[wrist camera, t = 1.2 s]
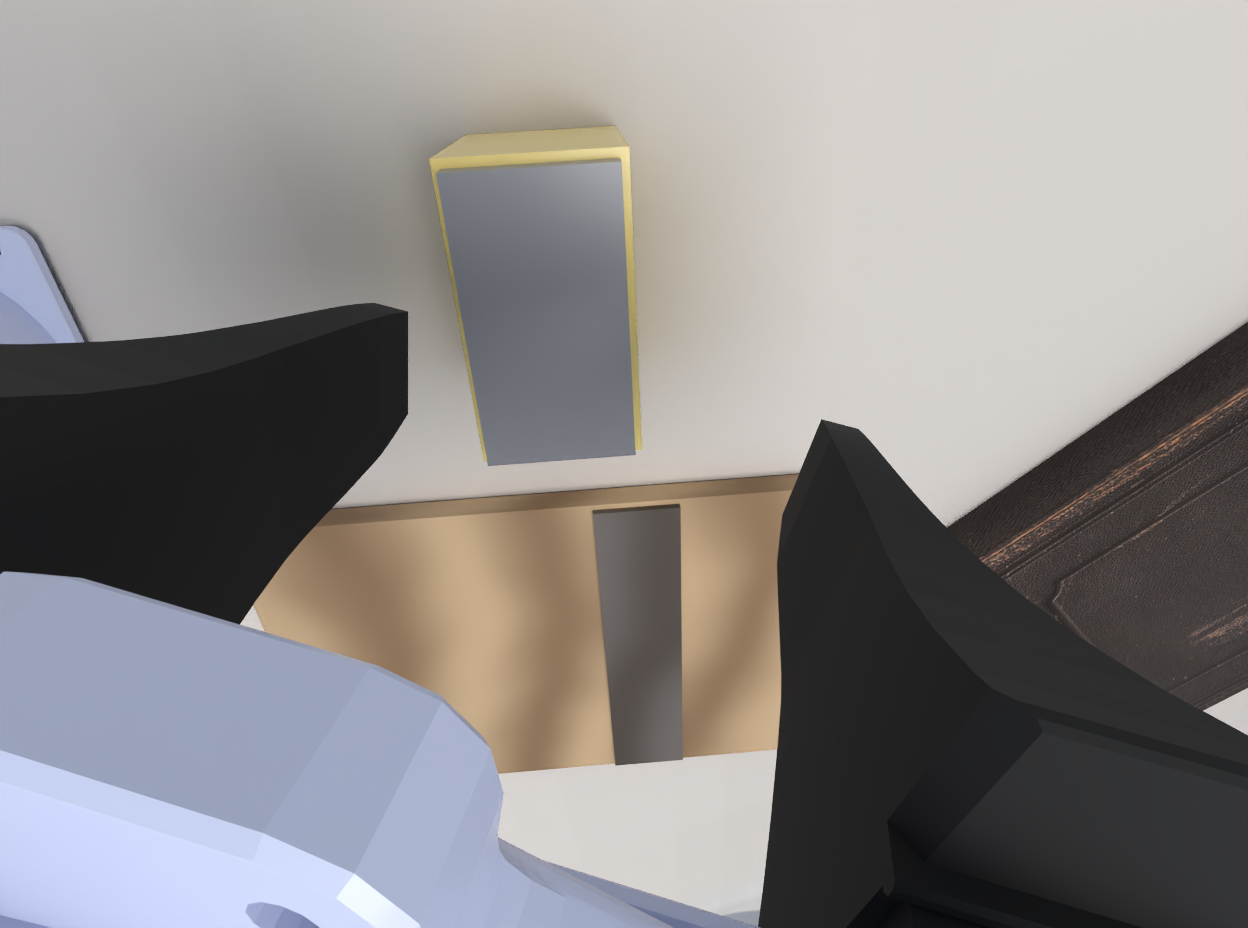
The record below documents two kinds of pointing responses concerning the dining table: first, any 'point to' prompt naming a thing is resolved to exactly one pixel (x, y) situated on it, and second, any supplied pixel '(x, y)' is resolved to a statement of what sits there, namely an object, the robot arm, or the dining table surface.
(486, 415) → the block
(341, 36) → the dining table surface
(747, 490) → the board
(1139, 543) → the hardcover book
